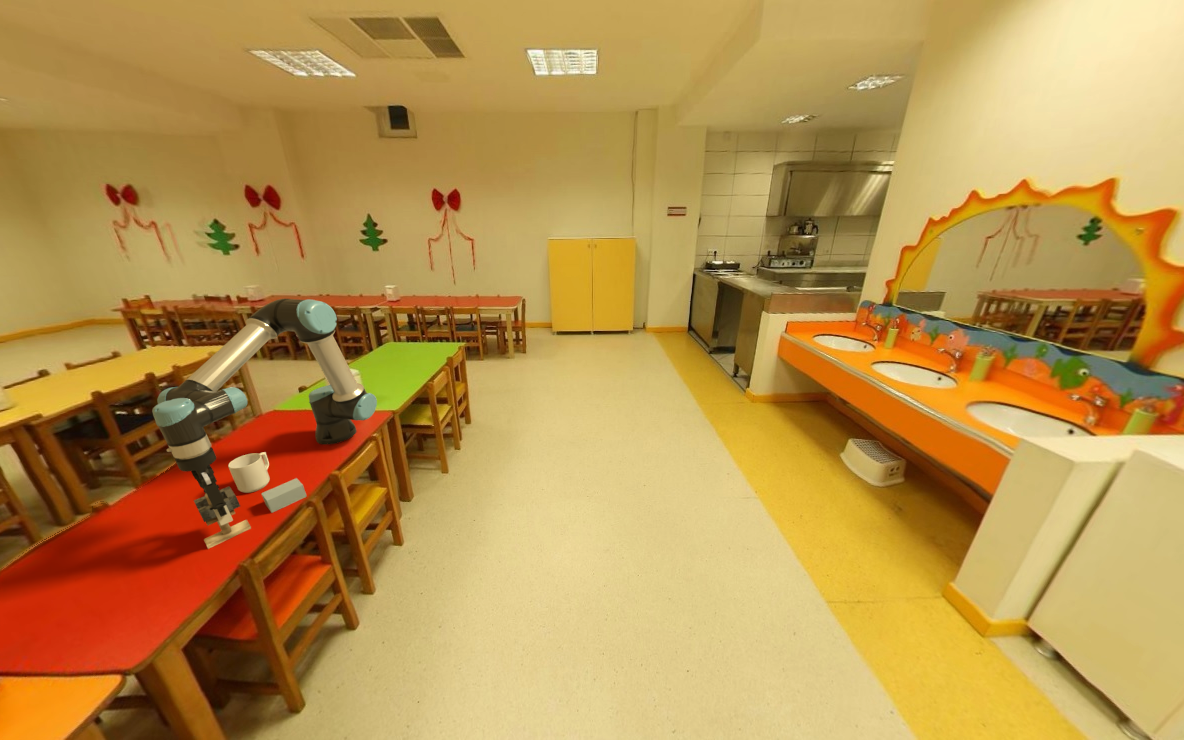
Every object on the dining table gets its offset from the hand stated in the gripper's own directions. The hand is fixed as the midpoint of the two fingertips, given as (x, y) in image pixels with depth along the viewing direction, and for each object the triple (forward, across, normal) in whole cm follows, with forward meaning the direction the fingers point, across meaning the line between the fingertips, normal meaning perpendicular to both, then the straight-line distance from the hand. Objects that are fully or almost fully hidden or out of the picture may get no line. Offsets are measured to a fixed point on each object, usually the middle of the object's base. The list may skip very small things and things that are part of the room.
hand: (223, 515), depth 114 cm
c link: (-3, 0, 0) cm, 3 cm away
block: (+7, -4, +15) cm, 17 cm away
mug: (+7, -23, +12) cm, 27 cm away
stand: (+7, 0, -1) cm, 7 cm away
